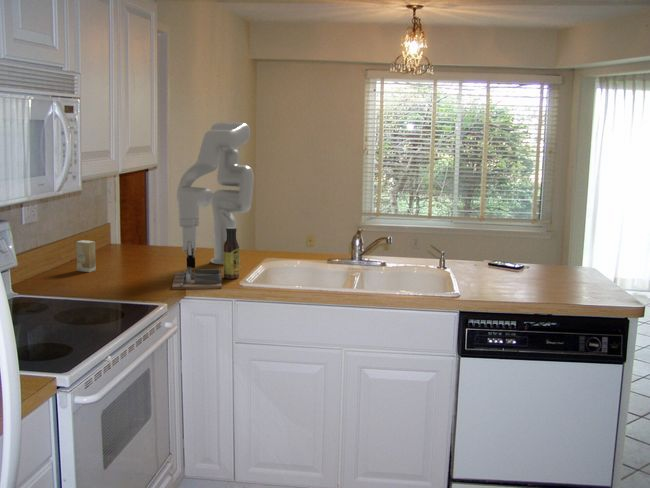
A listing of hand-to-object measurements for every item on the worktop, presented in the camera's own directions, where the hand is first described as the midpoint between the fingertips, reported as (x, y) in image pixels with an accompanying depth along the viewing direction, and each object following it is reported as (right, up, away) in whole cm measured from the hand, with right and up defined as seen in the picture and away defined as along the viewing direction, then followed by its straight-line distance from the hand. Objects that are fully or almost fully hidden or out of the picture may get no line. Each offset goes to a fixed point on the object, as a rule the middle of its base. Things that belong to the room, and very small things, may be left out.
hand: (191, 267), depth 270 cm
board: (+4, -5, -8) cm, 10 cm away
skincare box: (-44, -2, +8) cm, 45 cm away
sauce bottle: (+16, -4, -1) cm, 17 cm away
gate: (+1, -4, -10) cm, 11 cm away
